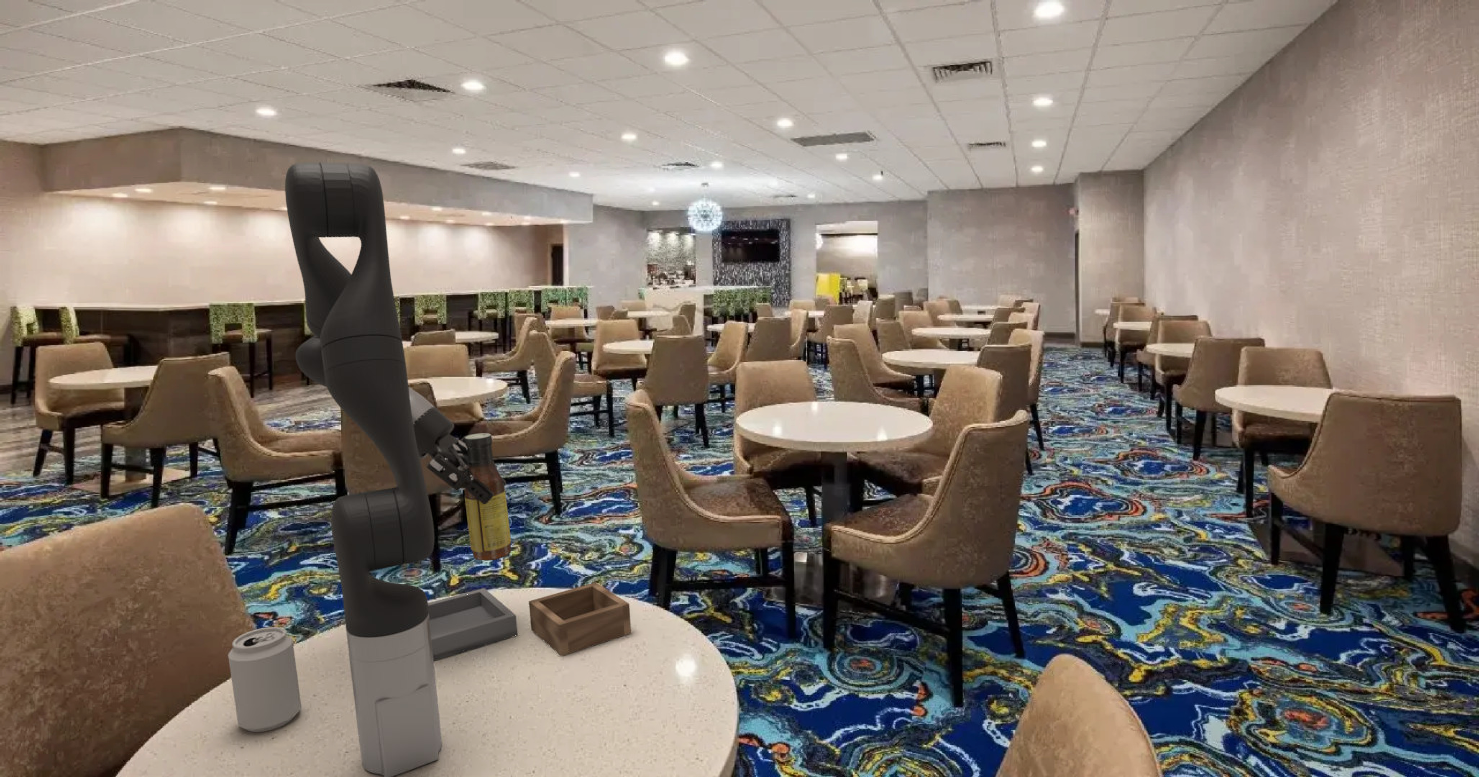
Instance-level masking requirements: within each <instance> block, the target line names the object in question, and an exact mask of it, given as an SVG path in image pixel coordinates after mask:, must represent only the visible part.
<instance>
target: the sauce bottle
mask: <svg viewBox="0 0 1479 777" xmlns="http://www.w3.org/2000/svg"><path fill="white" fill-rule="evenodd" d="M465 436H466V437H465V445H466V447H467V451H468V463H469V464H470V468H469V469H470V471H471V472H472V473H473V475H474V476H475V477H476V479H478V480H480V481H481V482H482V483H483V484H484V485H485V486H486V487H488V488H489V489H490V490H491V491H492V492H493V493H494V496H493V497H492V498H491V499H490V500H489V501H488V503H486V504H483V503H481V502H480V501H479V500H478V499H477V498H476V497H474V496H473V495H472V494H471V493H470V492H469V491H468V490H467V489H466V490H464V500H465V503H464V504H465V509H466V518H467V526H468V536H469V543H470V550H471V551H472V556H473V558H474V560H476V561H477V560H478V561H483V562H488V561H495V560H496V561H497V560H501V559H503V558H506V557H507V556H509V555H510V553H511V552H512V547H511V543H512V539H511V538H512V537H511V529H510V522H509V521H510V519H509V513H508V505H507V504H508V503H507V496H506V495H507V494H506V490H505V489H506V488H505V486H504V483H503V480H502V478H503V477H502V476H501V474H500V473H499V471H498V469H497V466H496V463H495V461H494V456H493V448H492V443H493V439H492V434H491V433H486V432H485V433H484V432H483V433H482V432H481V433H474V434H473V433H472V434H468V435H465ZM501 477H502V478H501ZM476 479H475V480H476Z"/></svg>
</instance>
